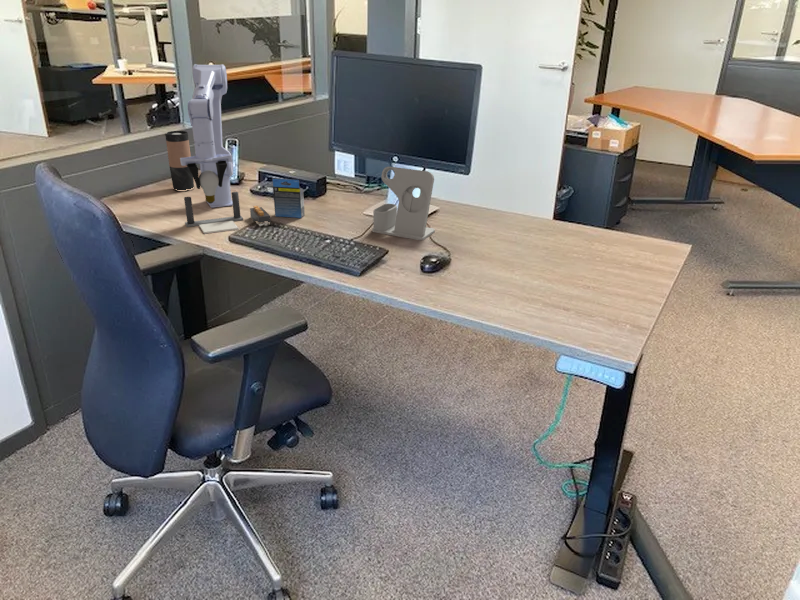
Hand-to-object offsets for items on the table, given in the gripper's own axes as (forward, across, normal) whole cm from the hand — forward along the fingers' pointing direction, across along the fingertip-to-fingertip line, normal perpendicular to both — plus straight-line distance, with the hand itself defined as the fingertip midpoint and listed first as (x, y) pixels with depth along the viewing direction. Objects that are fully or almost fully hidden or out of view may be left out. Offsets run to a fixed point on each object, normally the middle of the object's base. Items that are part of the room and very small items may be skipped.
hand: (209, 187), depth 189 cm
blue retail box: (+11, +23, -5) cm, 26 cm away
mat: (+10, 0, -8) cm, 13 cm away
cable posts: (+10, 0, -2) cm, 11 cm away
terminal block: (+10, +13, -7) cm, 18 cm away
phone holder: (+11, +49, -33) cm, 60 cm away
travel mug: (+10, -2, +41) cm, 43 cm away
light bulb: (+5, 0, 0) cm, 5 cm away
